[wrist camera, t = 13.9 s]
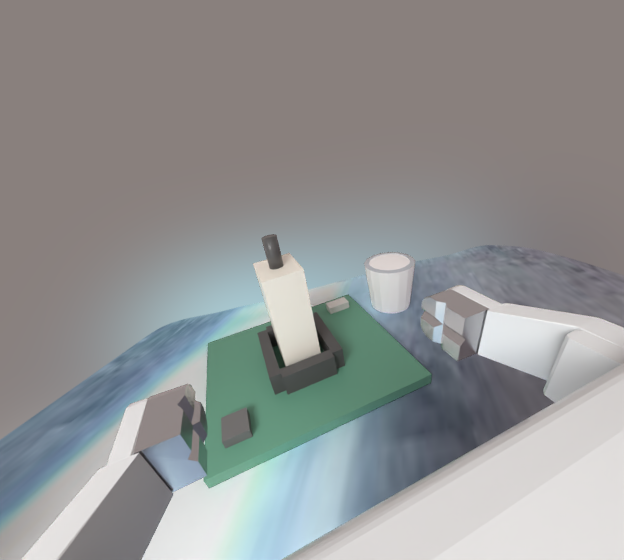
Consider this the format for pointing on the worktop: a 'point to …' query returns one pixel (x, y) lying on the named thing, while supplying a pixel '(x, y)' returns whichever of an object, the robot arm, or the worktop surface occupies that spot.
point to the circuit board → (299, 386)
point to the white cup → (390, 281)
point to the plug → (287, 303)
